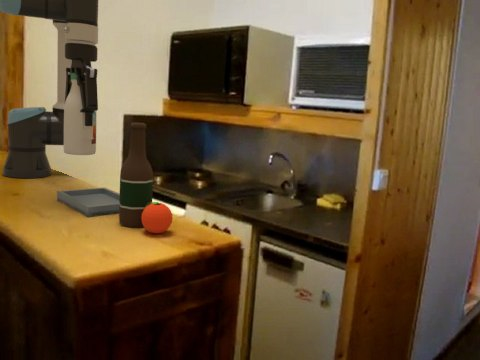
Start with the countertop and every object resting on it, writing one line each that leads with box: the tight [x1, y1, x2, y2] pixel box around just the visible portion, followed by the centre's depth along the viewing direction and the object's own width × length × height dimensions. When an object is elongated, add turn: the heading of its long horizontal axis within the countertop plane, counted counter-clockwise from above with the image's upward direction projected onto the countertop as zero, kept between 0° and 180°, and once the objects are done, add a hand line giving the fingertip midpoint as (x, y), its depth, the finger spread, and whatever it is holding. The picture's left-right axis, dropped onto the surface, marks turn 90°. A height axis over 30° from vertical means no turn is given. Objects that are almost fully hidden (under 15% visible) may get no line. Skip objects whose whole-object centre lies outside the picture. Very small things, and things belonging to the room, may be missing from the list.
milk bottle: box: [63, 73, 97, 156], centre depth 112 cm, size 8×8×20 cm
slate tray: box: [56, 187, 120, 218], centre depth 122 cm, size 20×14×2 cm
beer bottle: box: [118, 122, 154, 229], centre depth 105 cm, size 8×8×24 cm
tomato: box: [141, 201, 173, 234], centre depth 101 cm, size 8×7×7 cm
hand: (80, 137), depth 114 cm, fingers closed on milk bottle, 8 cm apart
